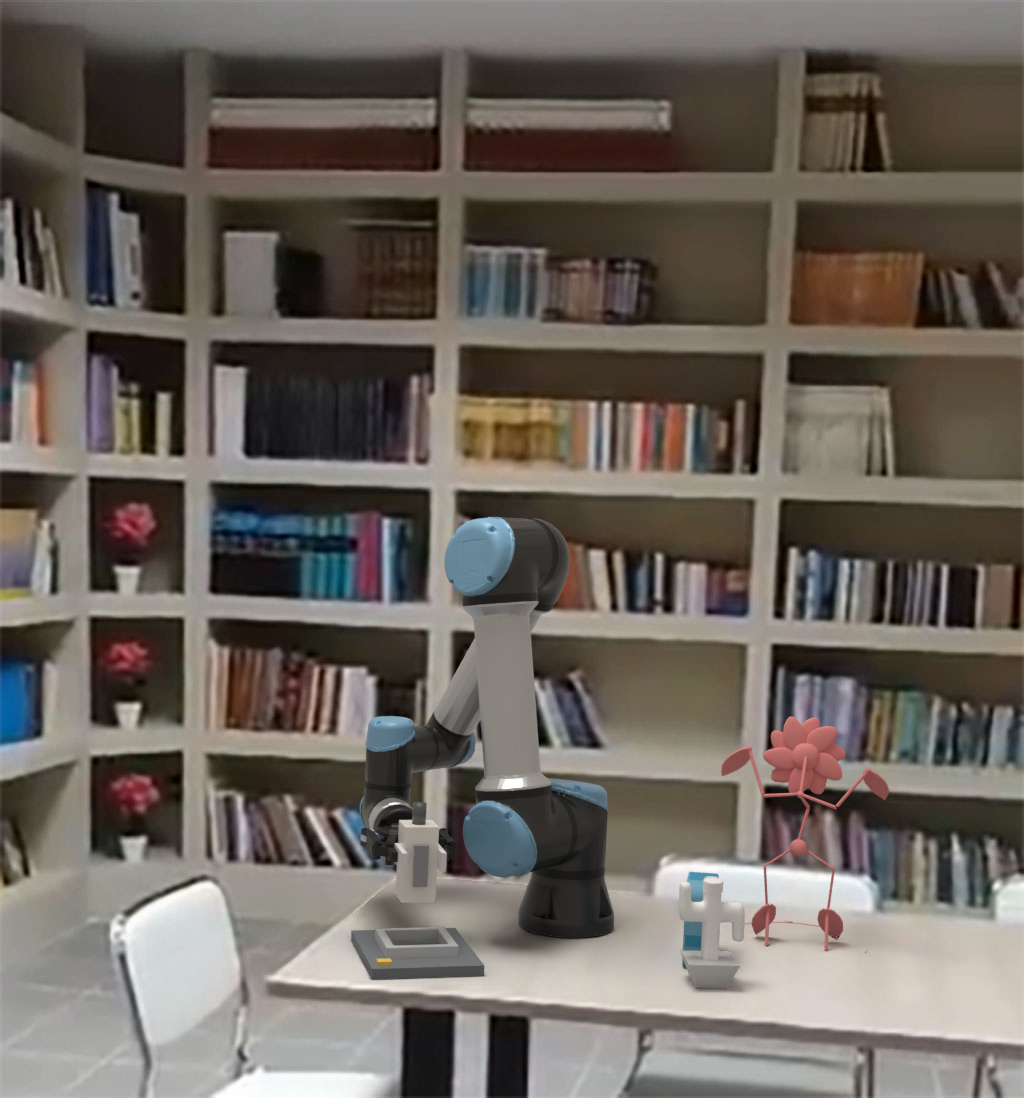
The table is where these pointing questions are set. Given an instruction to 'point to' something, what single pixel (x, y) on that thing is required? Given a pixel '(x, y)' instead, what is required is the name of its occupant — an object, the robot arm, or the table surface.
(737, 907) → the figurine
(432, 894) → the plug
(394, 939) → the dock
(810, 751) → the pink flower stick figure
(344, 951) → the table surface
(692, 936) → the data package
